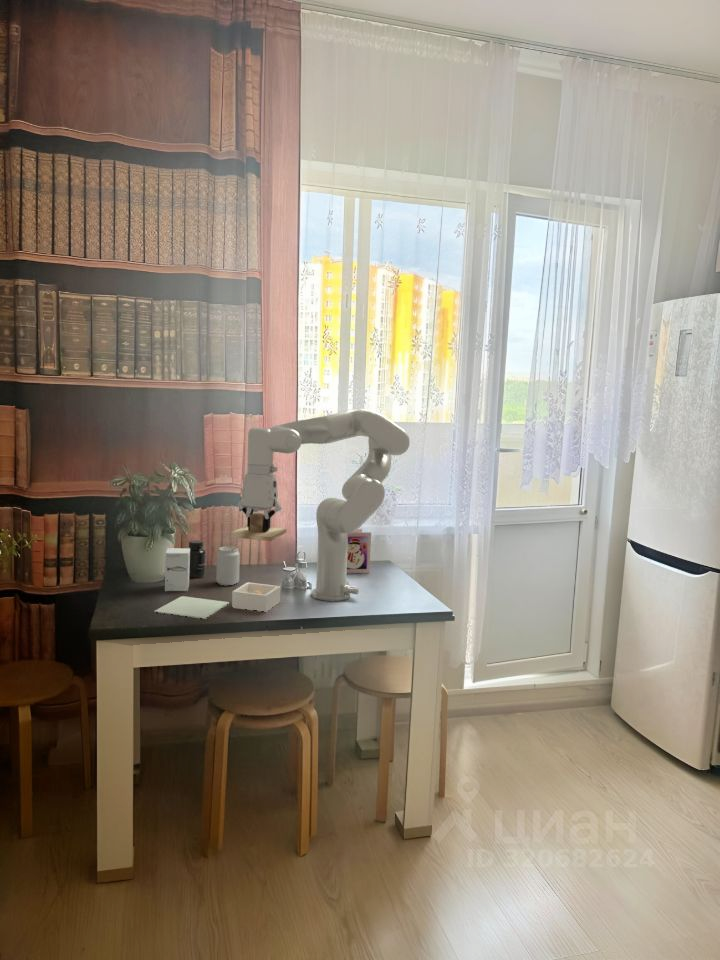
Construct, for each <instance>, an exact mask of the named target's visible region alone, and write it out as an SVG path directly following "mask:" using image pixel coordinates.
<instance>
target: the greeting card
mask: <svg viewBox="0 0 720 960" xmlns="http://www.w3.org/2000/svg"><path fill="white" fill-rule="evenodd" d="M347 537H348V550H347V573H346V574H370V567H371V566H370V565H371V549H372V548H371V545H372V544H371V543H372V532H368V531H367V532H366V531H365V532H363V528H359V529H357V530H356V531H355V532H353V533H349V534H347Z"/></svg>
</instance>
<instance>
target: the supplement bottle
mask: <svg viewBox="0 0 720 960" xmlns="http://www.w3.org/2000/svg"><path fill="white" fill-rule="evenodd" d="M187 547H188V548H190V569H189V579H191V578H192V579H199V578H204V577H205V576H206V561H207V560H206V558H207V551H206V550H205V548H204V541H202V540H198V539H197V540H196V539H195V540H190V541H188V546H187Z"/></svg>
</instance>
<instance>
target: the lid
mask: <svg viewBox="0 0 720 960" xmlns="http://www.w3.org/2000/svg"><path fill="white" fill-rule="evenodd" d="M263 519H265V515H264V513H259V512H254V513H253V514H252V515H250V531H249V530H248V527H247V525H244V526H242V527H240V528H238V529H236V530H233V531H231V532H229V533H228V535H229V536H228V537H229V538H236V539H246V540H253V541H254V540H255V541H263V542H264V541H265V542H272V541H274V540H275V539H278V538H280V537H282V536H283V535H285V534H287V533H288V532H287V531H288V530H287V528H280V527H272V526H270V529H269V531H267V532H263Z"/></svg>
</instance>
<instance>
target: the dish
mask: <svg viewBox="0 0 720 960" xmlns="http://www.w3.org/2000/svg"><path fill="white" fill-rule="evenodd" d="M281 587H282V586H281V585H272V584H266V583H257V582H251V581H250V582H249V581H247V582H246V583H244V584H242V585H240V586H239V587H237V588H236V589H234V590H232V595H231V608H232V607H233V608H232V609H239V610H245V609H247V610H246V611H253V610H257V611H256V612H261V611H264V612H263V613H267V612H269V611H270V610H272V609H273V608H274V607H275V606H277V605H278V604H279V603H280V602H281ZM253 591H260V592H261V593H262V594H257V593H252V592H253ZM276 604H277V605H276ZM273 606H274V607H273ZM272 607H273V608H272ZM268 610H269V611H268Z"/></svg>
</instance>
